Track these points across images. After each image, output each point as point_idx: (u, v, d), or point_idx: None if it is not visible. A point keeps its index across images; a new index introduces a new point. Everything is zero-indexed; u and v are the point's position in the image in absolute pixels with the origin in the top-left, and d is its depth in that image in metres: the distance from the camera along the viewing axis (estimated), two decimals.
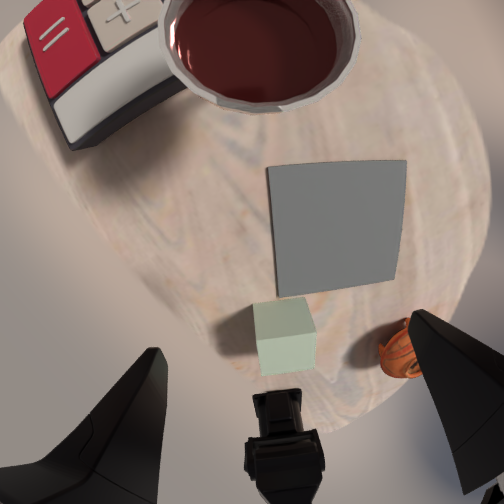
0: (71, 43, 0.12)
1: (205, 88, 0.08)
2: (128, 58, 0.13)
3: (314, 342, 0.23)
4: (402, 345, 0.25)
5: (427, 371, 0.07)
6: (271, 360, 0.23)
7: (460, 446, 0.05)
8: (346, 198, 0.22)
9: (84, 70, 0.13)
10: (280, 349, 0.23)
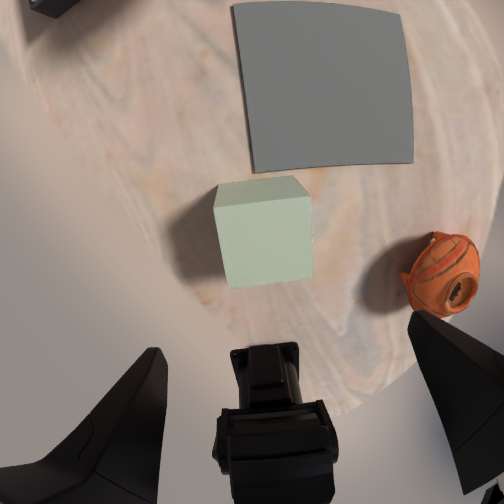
0: None
1: None
2: None
3: (309, 219, 0.15)
4: (437, 257, 0.17)
5: (427, 371, 0.07)
6: (242, 254, 0.15)
7: (460, 446, 0.05)
8: (333, 40, 0.14)
9: None
10: (254, 229, 0.15)
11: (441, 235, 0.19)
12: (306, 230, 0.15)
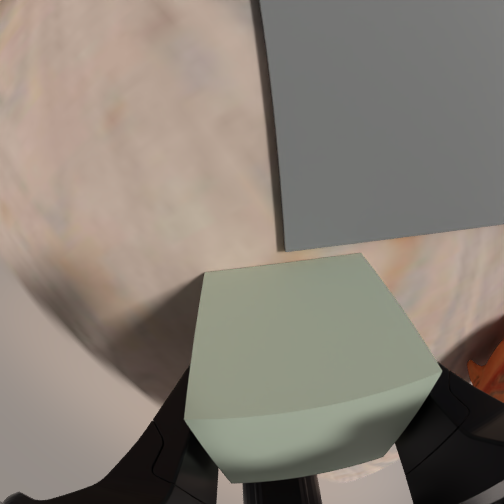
0: None
1: None
2: None
3: (418, 404, 0.05)
4: None
5: None
6: (259, 463, 0.06)
7: (411, 470, 0.05)
8: None
9: None
10: (293, 441, 0.05)
11: None
12: (403, 419, 0.05)
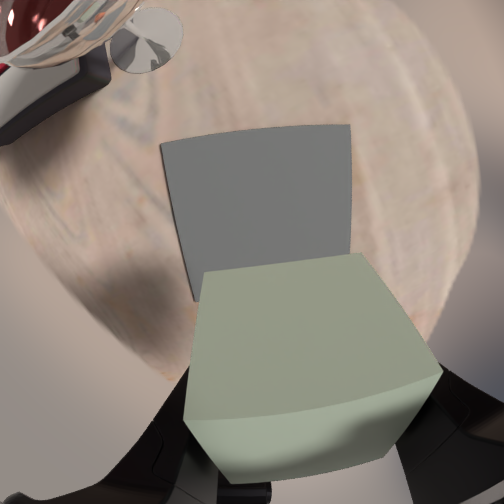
0: None
1: None
2: None
3: (419, 405, 0.05)
4: None
5: None
6: (259, 464, 0.06)
7: (412, 469, 0.05)
8: (265, 176, 0.17)
9: None
10: (292, 442, 0.05)
11: None
12: (403, 420, 0.05)
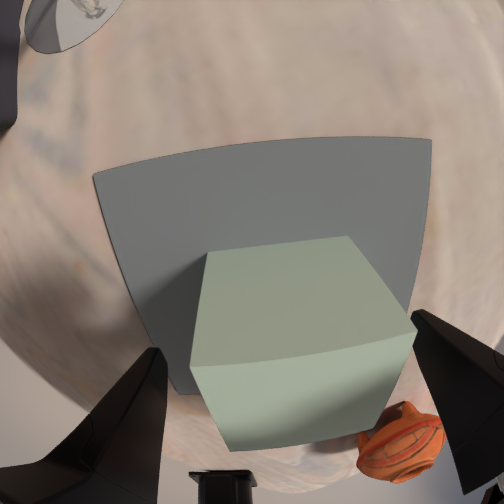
0: None
1: None
2: None
3: (400, 366, 0.06)
4: (390, 453, 0.13)
5: (427, 371, 0.07)
6: (256, 424, 0.07)
7: (460, 446, 0.05)
8: (285, 231, 0.10)
9: None
10: (285, 395, 0.06)
11: (408, 415, 0.15)
12: (387, 382, 0.06)
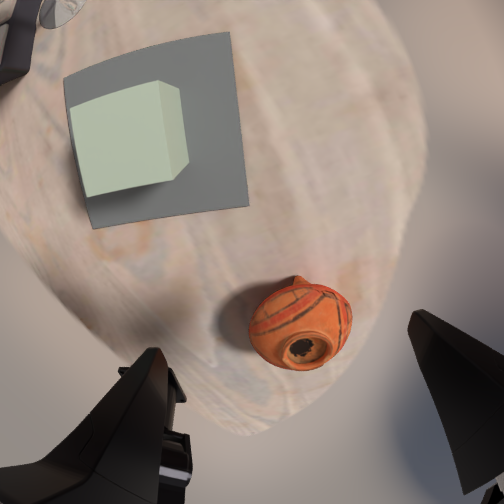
0: None
1: None
2: None
3: (158, 105, 0.11)
4: (270, 312, 0.18)
5: (427, 371, 0.07)
6: (94, 153, 0.12)
7: (460, 446, 0.05)
8: None
9: None
10: (103, 123, 0.11)
11: (295, 282, 0.20)
12: (156, 119, 0.11)
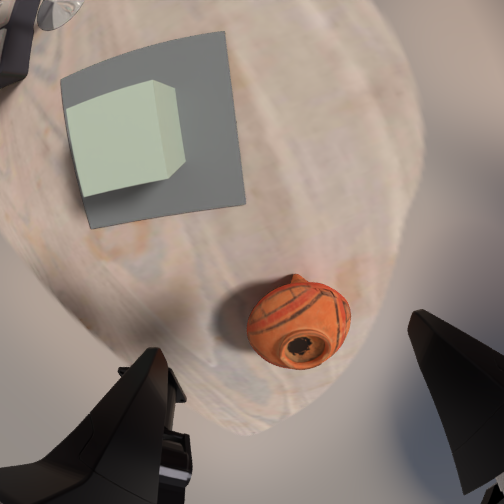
0: None
1: None
2: None
3: (153, 104, 0.11)
4: (267, 310, 0.18)
5: (427, 371, 0.07)
6: (91, 153, 0.12)
7: (460, 446, 0.05)
8: None
9: None
10: (99, 123, 0.11)
11: (293, 281, 0.20)
12: (151, 118, 0.11)
